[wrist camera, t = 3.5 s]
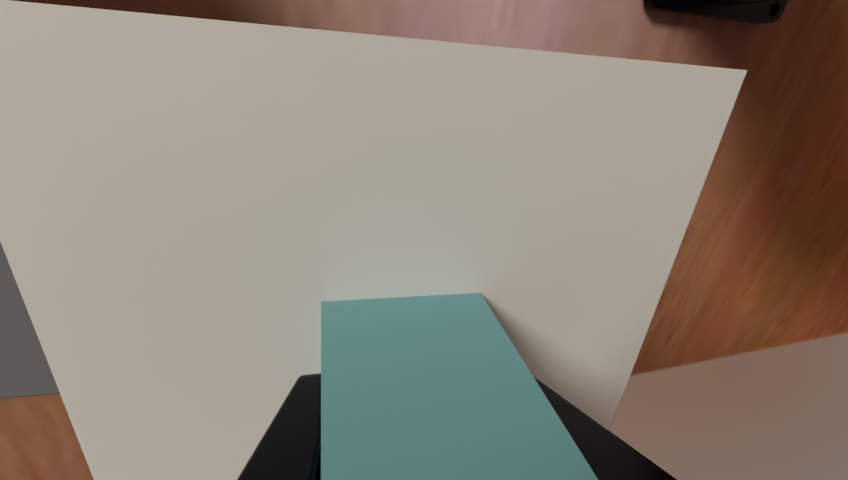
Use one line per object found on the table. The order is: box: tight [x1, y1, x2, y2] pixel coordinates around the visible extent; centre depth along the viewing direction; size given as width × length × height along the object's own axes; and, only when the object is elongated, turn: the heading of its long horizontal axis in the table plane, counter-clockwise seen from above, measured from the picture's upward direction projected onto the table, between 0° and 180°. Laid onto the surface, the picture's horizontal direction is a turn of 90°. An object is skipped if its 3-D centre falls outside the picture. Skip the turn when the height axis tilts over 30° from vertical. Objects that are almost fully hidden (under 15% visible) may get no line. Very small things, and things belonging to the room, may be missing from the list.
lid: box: [0, 0, 747, 480], centre depth 7 cm, size 12×12×6 cm
